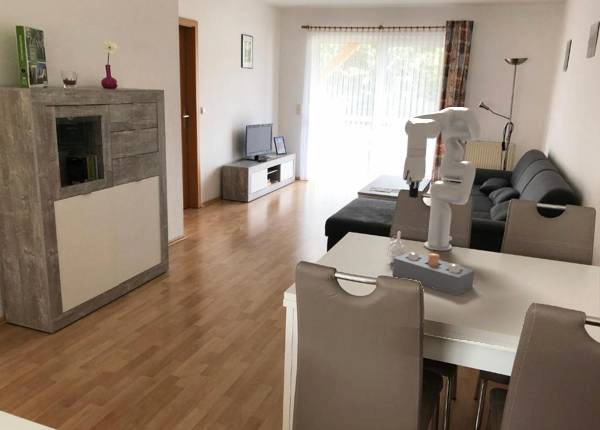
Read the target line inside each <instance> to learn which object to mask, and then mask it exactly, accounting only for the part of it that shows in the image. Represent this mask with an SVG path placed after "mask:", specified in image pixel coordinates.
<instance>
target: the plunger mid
mask: <svg viewBox="0 0 600 430" xmlns="http://www.w3.org/2000/svg"><path fill="white" fill-rule="evenodd" d="M427 257H428V265H430V266H434V267H437V266H438V264H439V260H440V254H438V253H435V252H434V253H433V252H431V253H428V255H427Z"/></svg>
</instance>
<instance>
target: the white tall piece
mask: <svg viewBox="0 0 600 430" xmlns="http://www.w3.org/2000/svg"><path fill="white" fill-rule="evenodd" d="M396 235H397V236H396ZM396 235H394V236H392V238H391V239H393V238H395V237H396V239H395V240H391V242H389V243H388V247H387V254H386V256H387V257H388V255H389V256H390V257H389V258H390V261H392V263H393V264H394V258H395V257H398V256H401V255H404V254H406V250H405V245H403V242H402V241H401V235H402V233H401V231H400V230H398V232H397V234H396ZM393 243H394V244H393ZM390 244H391V247H390ZM389 248H390V249H389ZM389 251H390V253H389Z"/></svg>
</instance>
